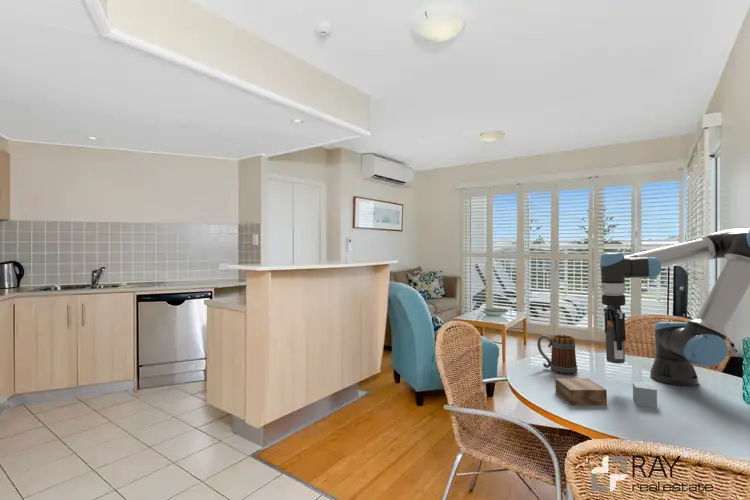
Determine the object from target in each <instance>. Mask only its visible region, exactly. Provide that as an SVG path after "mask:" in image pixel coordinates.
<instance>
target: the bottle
mask: <svg viewBox="0 0 750 500" xmlns="http://www.w3.org/2000/svg"><path fill="white" fill-rule="evenodd" d="M607 324H608V325H607V326H606V328H607V329H608V331H607V332H606V333H605V352H606V355H605V357H606V362H608V363H610V364H611V363H612V364H624V363H625V362H626V358H625V357H626V355H625V341H623V356H624V359H615V356H614V341H613V340H614V339H615V335H614V329H613V322H611V320H608V321H607Z"/></svg>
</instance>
